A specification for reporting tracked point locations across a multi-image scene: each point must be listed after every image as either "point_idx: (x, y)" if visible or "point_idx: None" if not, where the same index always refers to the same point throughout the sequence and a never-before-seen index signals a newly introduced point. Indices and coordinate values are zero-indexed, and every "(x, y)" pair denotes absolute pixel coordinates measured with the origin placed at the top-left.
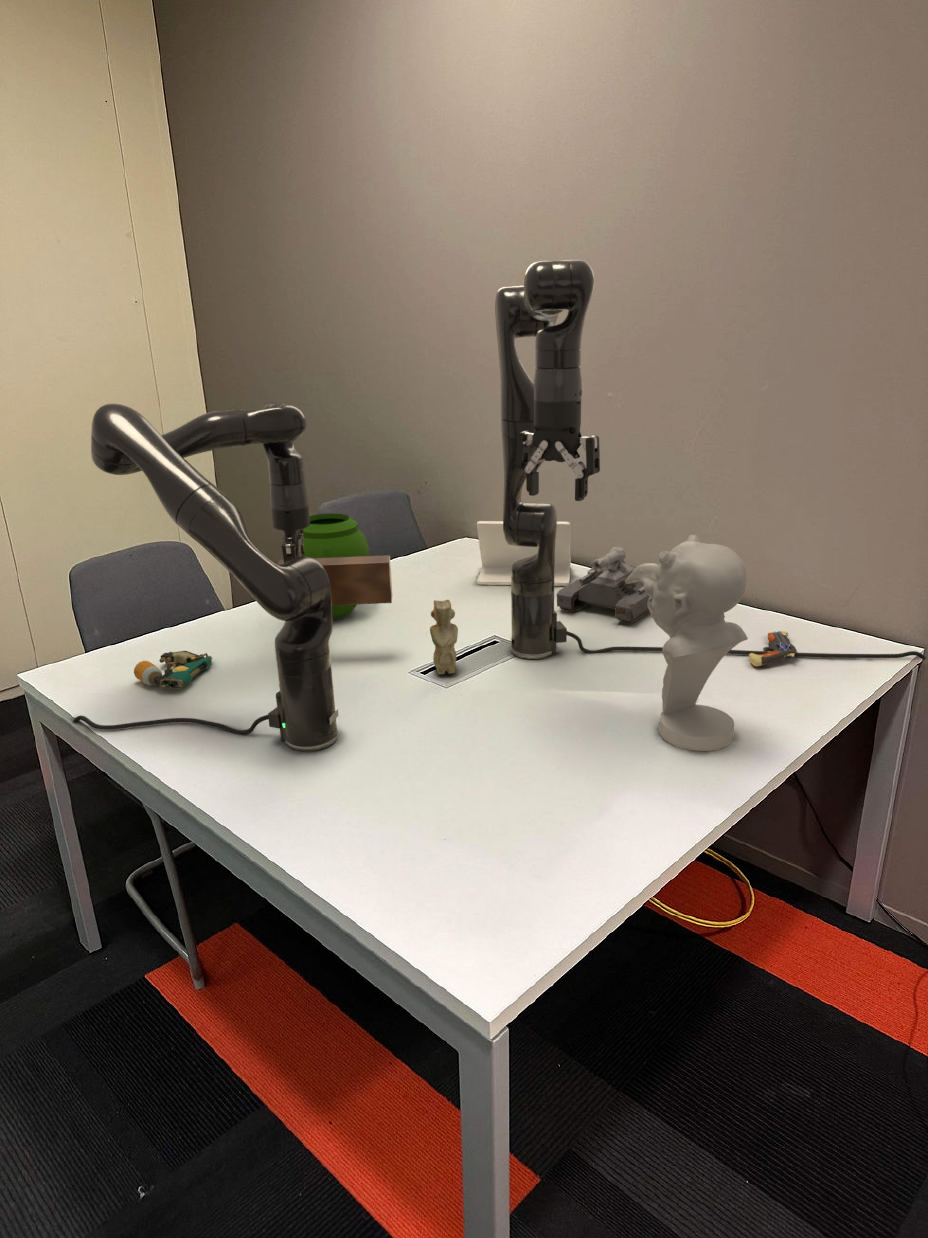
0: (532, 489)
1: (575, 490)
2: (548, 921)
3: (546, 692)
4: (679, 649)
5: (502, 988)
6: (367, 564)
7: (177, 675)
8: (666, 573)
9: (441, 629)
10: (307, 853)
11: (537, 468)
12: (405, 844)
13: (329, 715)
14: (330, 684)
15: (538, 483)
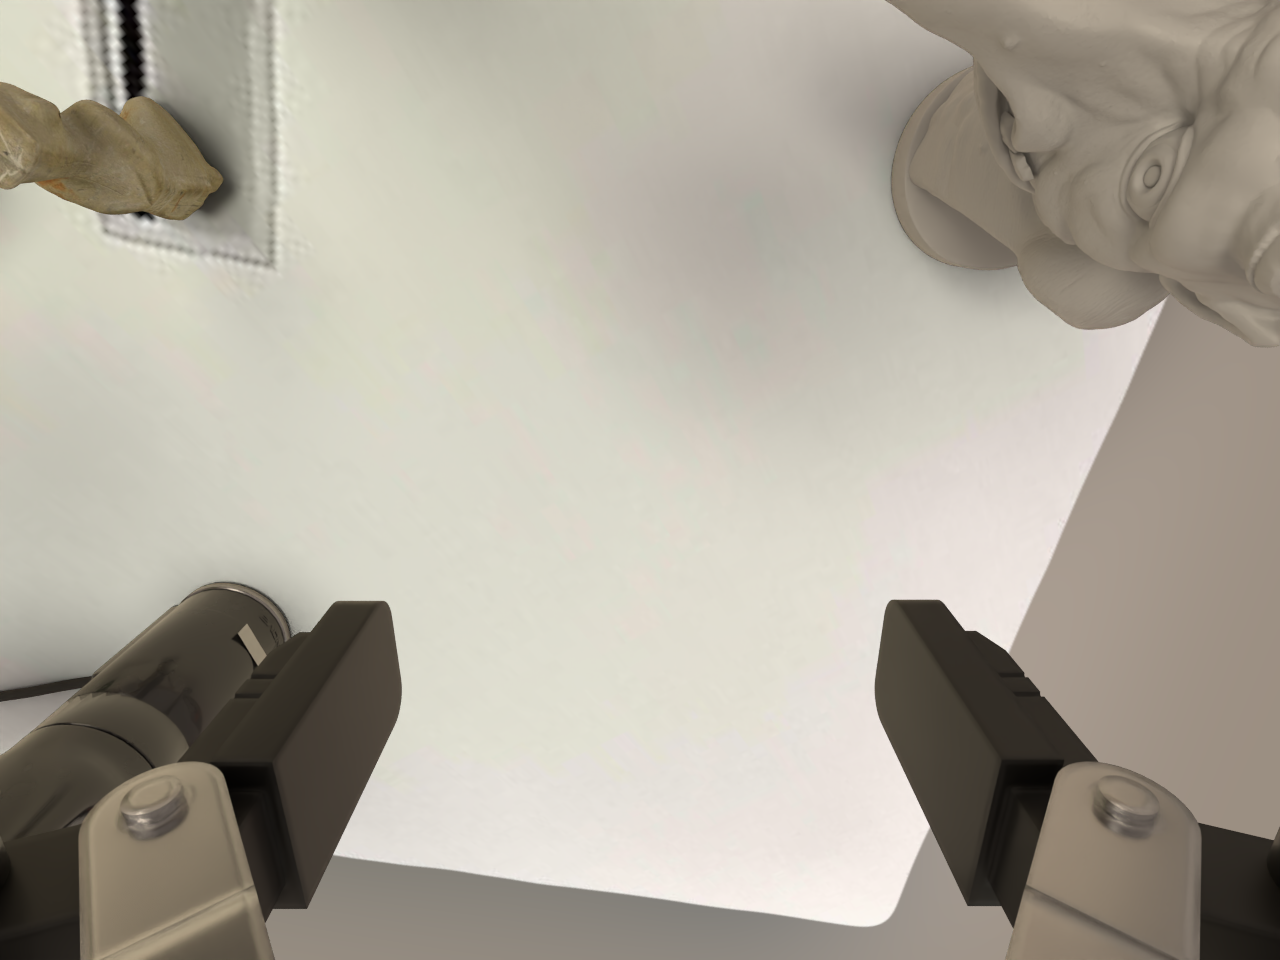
0: (379, 750)
1: (914, 780)
2: (889, 806)
3: (524, 136)
4: (1110, 320)
5: (882, 900)
6: None
7: None
8: (1245, 282)
9: (84, 180)
10: (519, 849)
11: (240, 834)
12: (627, 777)
13: (253, 667)
14: (207, 700)
15: (345, 665)
